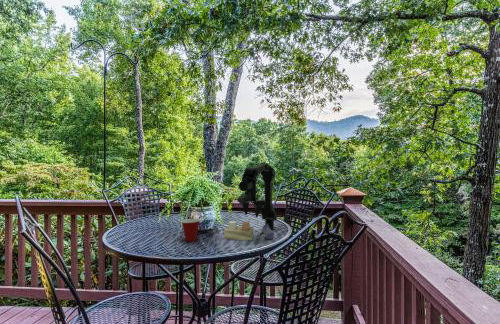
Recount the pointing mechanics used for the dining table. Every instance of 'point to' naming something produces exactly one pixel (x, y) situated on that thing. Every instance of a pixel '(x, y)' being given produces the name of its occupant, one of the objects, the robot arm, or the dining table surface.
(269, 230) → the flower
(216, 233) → the dining table surface
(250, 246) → the dining table surface
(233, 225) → the grey plug
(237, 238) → the press panel
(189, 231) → the plastic cup
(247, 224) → the terracotta plug
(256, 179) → the robot arm
